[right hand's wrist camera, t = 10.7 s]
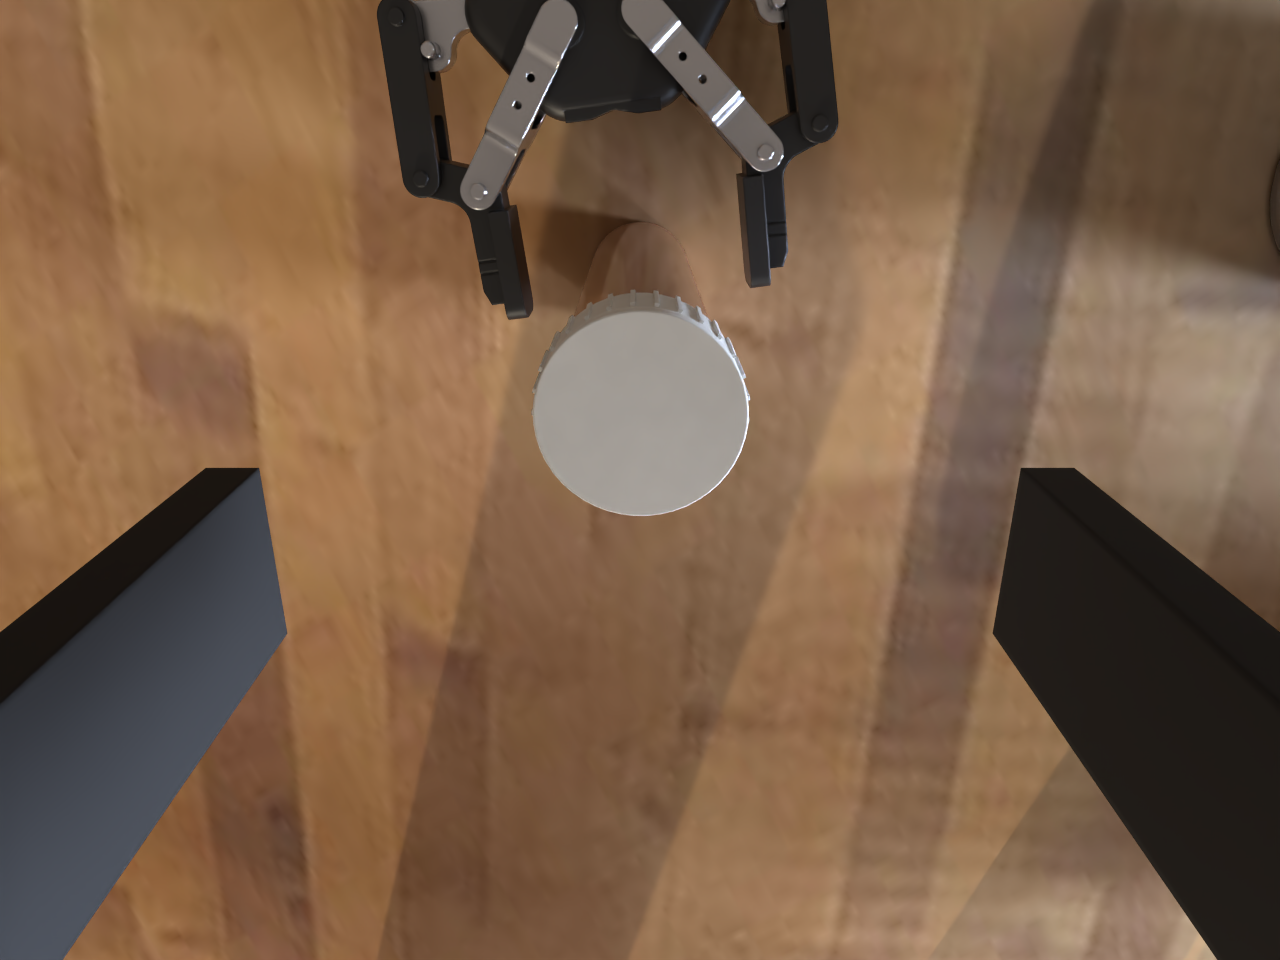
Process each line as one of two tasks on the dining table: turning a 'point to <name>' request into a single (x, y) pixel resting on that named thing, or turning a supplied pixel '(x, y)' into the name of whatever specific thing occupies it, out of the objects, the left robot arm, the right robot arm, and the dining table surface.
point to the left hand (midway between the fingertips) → (638, 299)
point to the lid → (640, 404)
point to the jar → (640, 266)
